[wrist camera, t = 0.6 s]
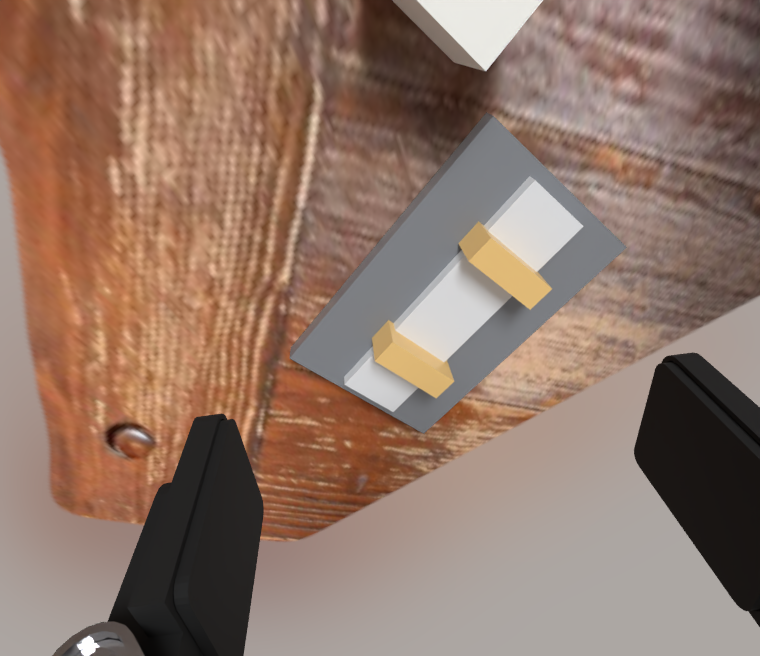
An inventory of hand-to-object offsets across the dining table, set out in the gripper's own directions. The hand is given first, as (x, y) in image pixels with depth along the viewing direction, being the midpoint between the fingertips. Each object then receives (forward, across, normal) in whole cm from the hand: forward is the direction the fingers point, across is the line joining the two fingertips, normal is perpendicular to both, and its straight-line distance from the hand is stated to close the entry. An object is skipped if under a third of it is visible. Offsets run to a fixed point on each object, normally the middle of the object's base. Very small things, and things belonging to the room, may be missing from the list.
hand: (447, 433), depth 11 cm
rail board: (+24, -5, +10) cm, 27 cm away
